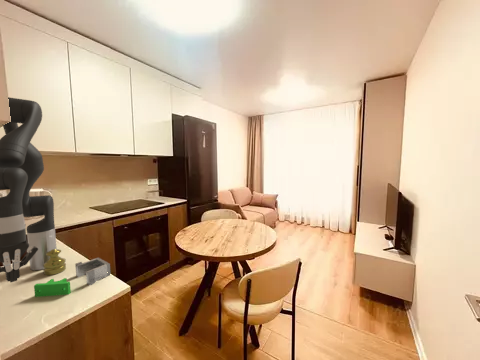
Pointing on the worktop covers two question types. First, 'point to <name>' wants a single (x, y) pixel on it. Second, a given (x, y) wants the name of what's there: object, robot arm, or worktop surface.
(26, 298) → the worktop surface
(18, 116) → the robot arm
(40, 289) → the pipe clamp
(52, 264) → the gold twisted vase
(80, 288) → the worktop surface
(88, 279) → the grey u-shaped bracket
